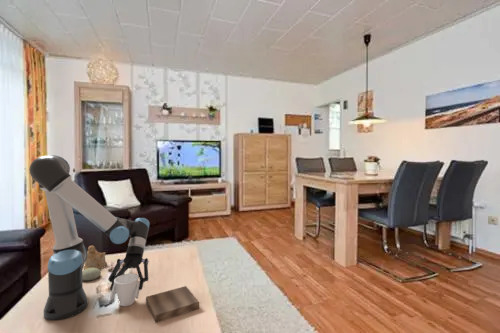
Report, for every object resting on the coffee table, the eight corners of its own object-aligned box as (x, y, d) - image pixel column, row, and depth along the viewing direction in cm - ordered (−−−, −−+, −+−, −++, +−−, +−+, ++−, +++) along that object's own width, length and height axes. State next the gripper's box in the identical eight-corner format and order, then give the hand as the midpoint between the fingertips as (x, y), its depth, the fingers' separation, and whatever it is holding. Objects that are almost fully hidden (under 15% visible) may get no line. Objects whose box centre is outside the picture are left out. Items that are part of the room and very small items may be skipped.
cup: (129, 310, 111) (129, 284, 111) (108, 307, 113) (108, 282, 113) (143, 298, 121) (143, 274, 121) (124, 295, 123) (124, 272, 122)
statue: (90, 244, 161) (104, 240, 159) (97, 266, 161) (110, 263, 158) (73, 251, 149) (87, 247, 147) (80, 275, 149) (94, 272, 147)
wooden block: (155, 322, 104) (155, 315, 103) (146, 303, 117) (146, 296, 117) (199, 308, 113) (199, 301, 113) (185, 292, 127) (185, 286, 127)
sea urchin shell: (95, 268, 147) (99, 261, 144) (100, 281, 144) (104, 274, 140) (76, 274, 140) (80, 266, 137) (81, 287, 137) (85, 280, 133)
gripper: (160, 251, 133) (152, 299, 118) (114, 252, 131) (99, 301, 115) (158, 244, 127) (148, 294, 112) (109, 245, 125) (93, 296, 110)
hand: (124, 298), depth 114 cm, fingers closed on cup, 9 cm apart
